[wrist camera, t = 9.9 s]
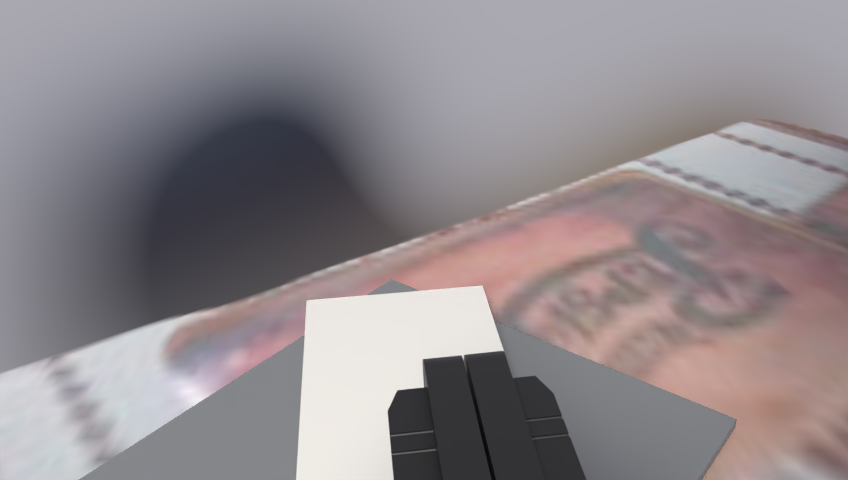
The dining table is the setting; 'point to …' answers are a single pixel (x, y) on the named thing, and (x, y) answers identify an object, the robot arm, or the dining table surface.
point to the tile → (376, 370)
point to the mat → (527, 356)
